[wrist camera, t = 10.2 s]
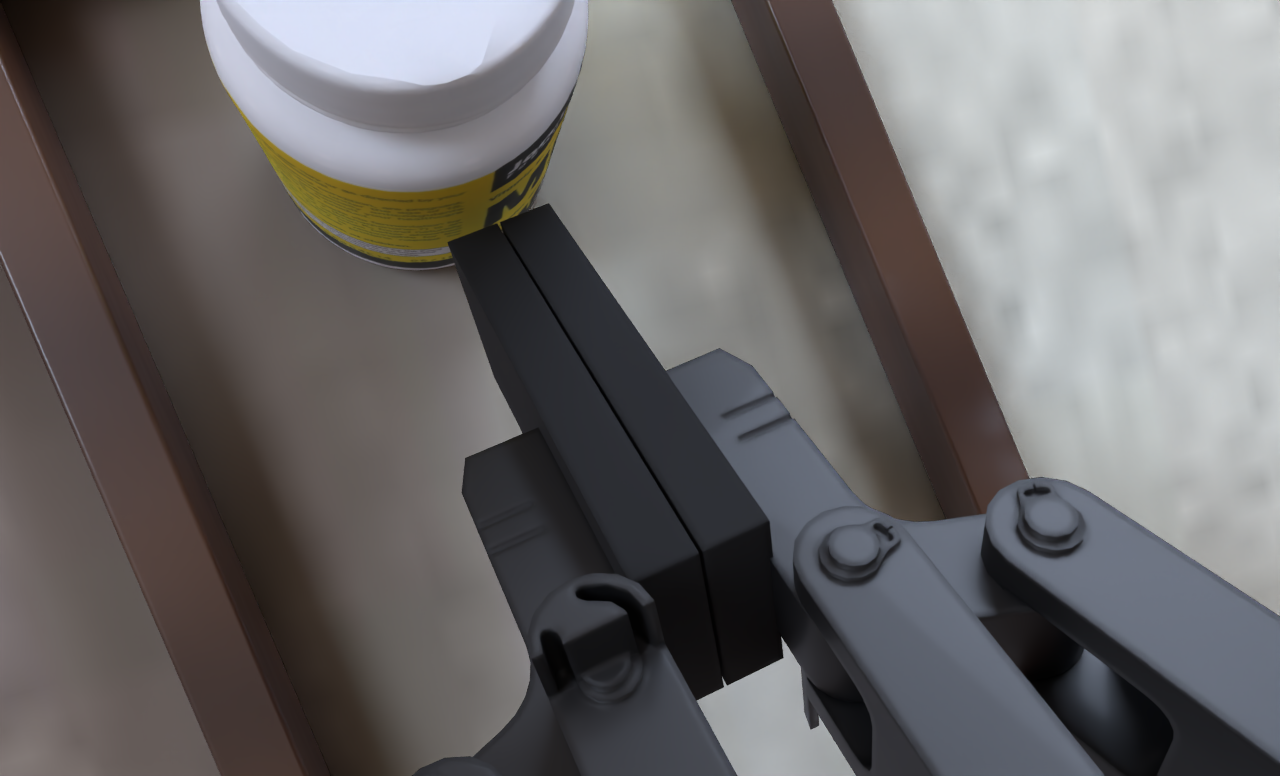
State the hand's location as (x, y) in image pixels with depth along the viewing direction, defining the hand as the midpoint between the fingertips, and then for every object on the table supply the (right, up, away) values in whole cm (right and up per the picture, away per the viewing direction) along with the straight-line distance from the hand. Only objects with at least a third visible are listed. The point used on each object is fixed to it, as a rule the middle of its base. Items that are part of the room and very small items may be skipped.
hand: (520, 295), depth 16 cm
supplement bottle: (-2, +3, +3) cm, 5 cm away
